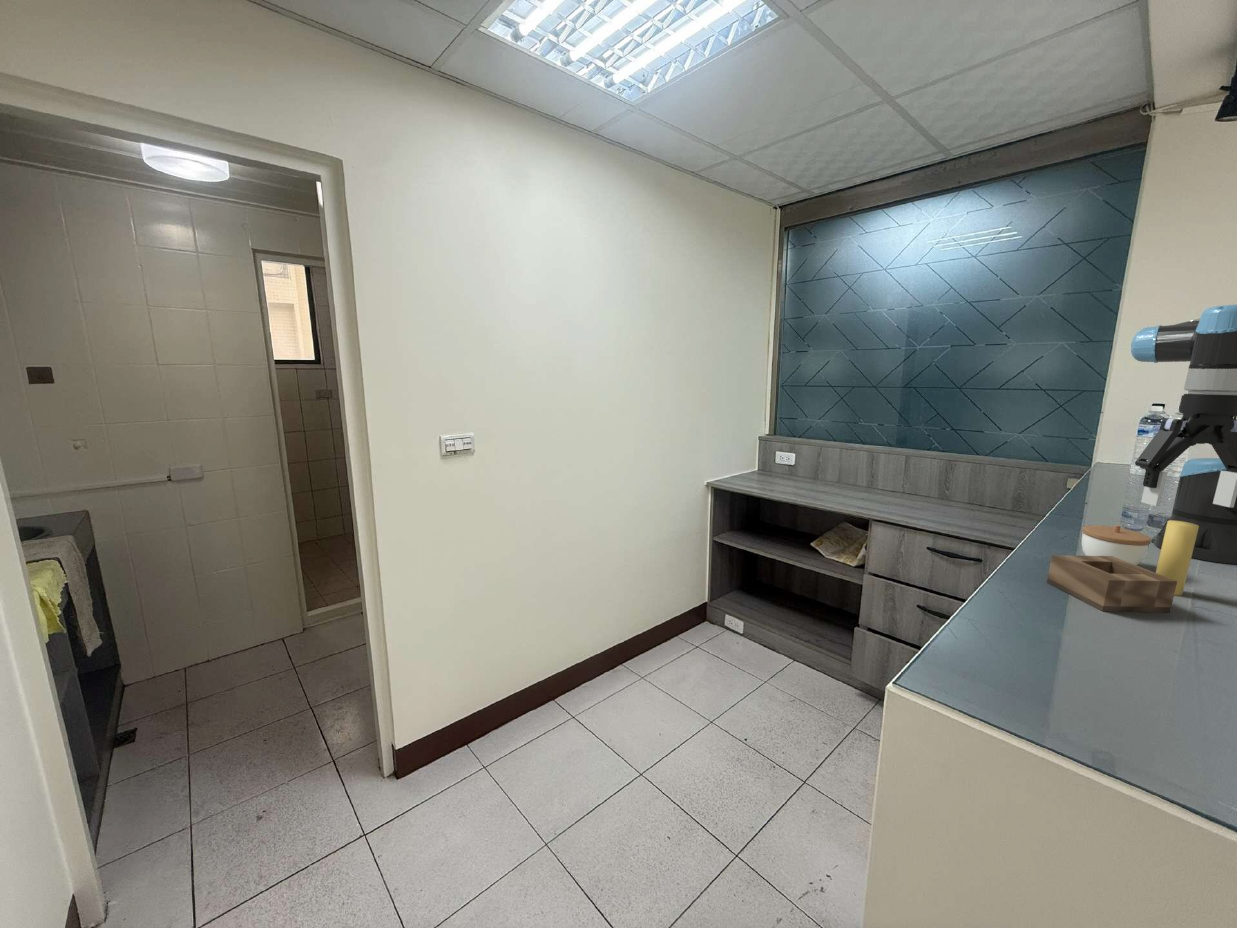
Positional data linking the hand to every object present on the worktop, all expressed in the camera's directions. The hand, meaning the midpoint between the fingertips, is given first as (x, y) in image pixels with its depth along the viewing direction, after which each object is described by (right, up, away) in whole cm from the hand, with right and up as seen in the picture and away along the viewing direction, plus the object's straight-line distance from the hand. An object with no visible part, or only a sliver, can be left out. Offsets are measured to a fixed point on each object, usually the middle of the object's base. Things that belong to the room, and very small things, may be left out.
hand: (1186, 505), depth 93 cm
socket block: (-15, -18, +1) cm, 23 cm away
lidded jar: (+1, -15, +16) cm, 22 cm away
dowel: (0, -17, +3) cm, 18 cm away
